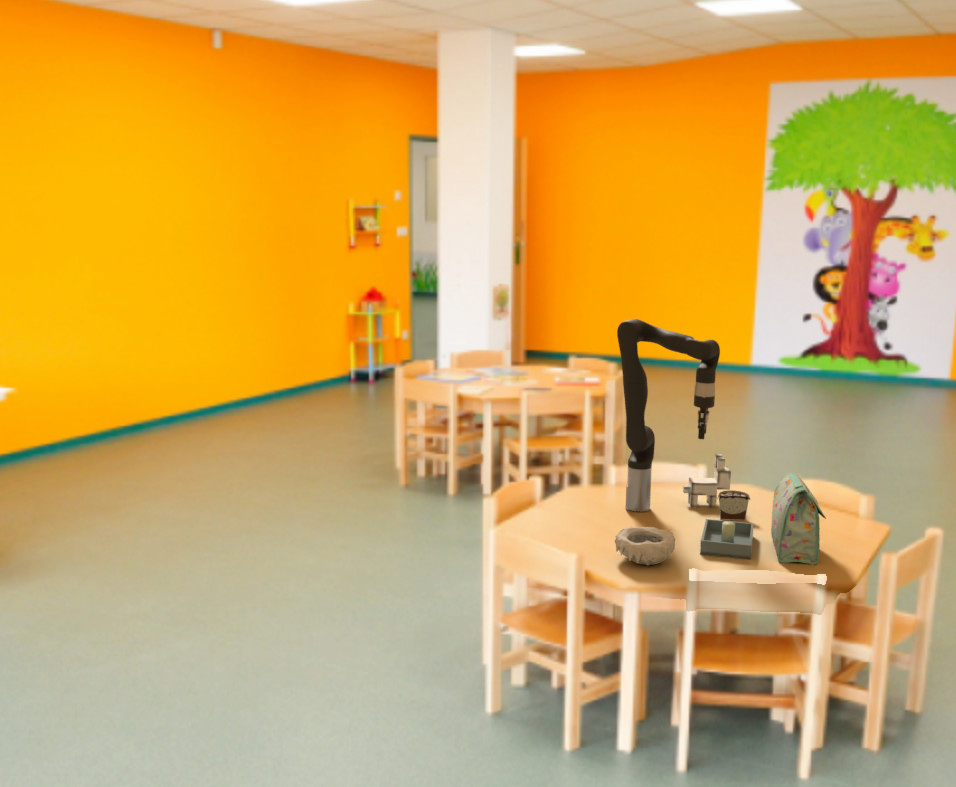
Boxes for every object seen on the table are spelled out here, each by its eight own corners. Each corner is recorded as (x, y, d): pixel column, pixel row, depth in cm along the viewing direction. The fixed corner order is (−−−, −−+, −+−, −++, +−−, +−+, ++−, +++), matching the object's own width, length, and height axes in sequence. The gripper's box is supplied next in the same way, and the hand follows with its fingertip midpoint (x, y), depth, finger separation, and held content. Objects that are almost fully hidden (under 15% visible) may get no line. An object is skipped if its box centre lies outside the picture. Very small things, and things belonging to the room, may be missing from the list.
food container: (746, 515, 389) (747, 490, 387) (749, 520, 383) (750, 495, 381) (714, 514, 390) (715, 489, 388) (716, 519, 384) (717, 494, 382)
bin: (700, 554, 348) (700, 540, 347) (705, 531, 371) (705, 518, 369) (750, 559, 343) (751, 545, 342) (752, 536, 366) (753, 523, 365)
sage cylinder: (720, 543, 355) (722, 525, 354) (721, 539, 359) (722, 520, 358) (733, 545, 354) (734, 526, 353) (733, 540, 358) (735, 522, 357)
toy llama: (681, 501, 406) (683, 453, 402) (725, 501, 405) (727, 454, 401) (684, 507, 399) (686, 458, 395) (728, 507, 398) (731, 459, 394)
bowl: (682, 571, 332) (684, 543, 330) (622, 573, 331) (623, 544, 329) (666, 549, 353) (667, 522, 351) (609, 551, 351) (610, 523, 349)
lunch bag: (824, 566, 337) (830, 490, 332) (773, 563, 340) (778, 487, 334) (814, 543, 359) (819, 470, 354) (766, 540, 362) (771, 468, 356)
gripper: (695, 389, 378) (693, 431, 381) (692, 397, 365) (690, 440, 368) (716, 390, 376) (713, 432, 379) (713, 398, 363) (711, 441, 366)
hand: (702, 436), depth 374 cm, fingers open, 8 cm apart
